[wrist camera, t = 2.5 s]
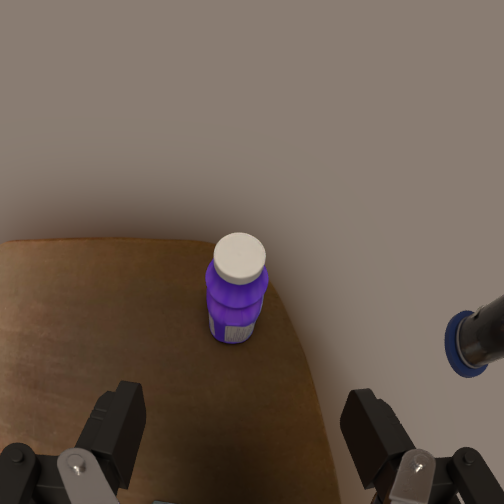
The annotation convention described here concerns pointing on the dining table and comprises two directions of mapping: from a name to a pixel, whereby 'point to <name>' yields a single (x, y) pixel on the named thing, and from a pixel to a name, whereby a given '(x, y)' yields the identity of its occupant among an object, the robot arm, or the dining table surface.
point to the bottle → (236, 287)
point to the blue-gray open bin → (159, 503)
